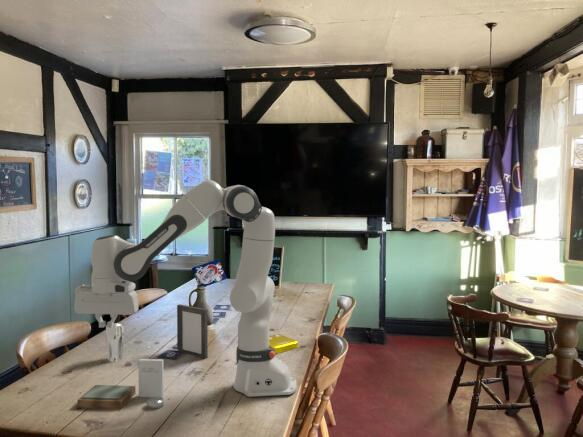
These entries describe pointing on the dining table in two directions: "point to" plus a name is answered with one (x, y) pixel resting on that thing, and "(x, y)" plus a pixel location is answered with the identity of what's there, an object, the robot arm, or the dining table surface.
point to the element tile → (282, 343)
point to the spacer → (155, 403)
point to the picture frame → (192, 331)
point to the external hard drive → (151, 378)
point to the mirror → (106, 397)
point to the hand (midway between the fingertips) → (106, 327)
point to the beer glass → (115, 342)
